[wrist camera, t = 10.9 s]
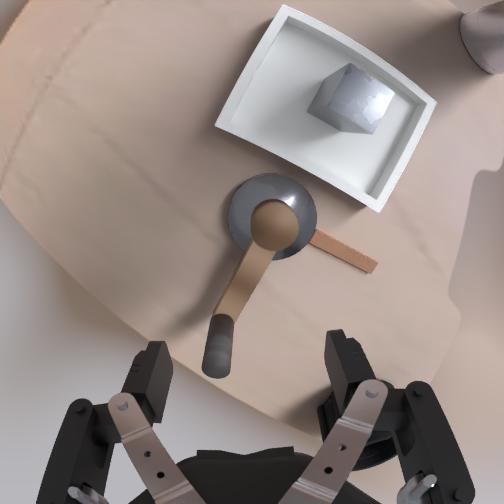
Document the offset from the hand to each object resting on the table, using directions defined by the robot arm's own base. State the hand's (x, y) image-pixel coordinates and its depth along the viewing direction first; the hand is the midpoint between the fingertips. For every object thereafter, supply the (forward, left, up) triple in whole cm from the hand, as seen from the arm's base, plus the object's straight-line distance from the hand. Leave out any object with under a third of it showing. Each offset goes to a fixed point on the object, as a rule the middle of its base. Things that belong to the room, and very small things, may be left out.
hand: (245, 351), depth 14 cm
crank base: (-2, +6, -19) cm, 20 cm away
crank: (+3, +2, -17) cm, 18 cm away
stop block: (-15, +2, -18) cm, 23 cm away
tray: (-15, +2, -19) cm, 24 cm away
